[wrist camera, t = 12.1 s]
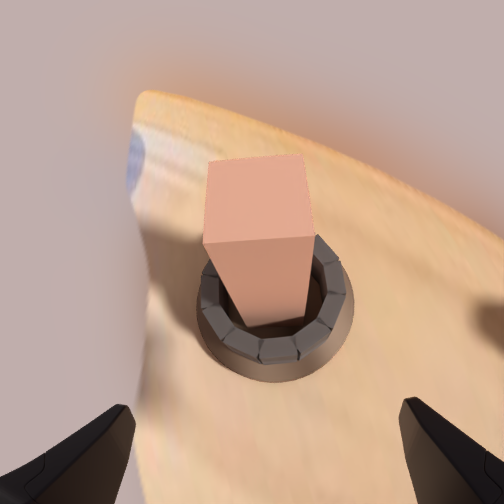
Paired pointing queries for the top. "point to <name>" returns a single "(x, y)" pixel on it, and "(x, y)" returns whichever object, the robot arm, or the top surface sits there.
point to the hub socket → (280, 338)
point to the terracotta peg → (261, 236)
